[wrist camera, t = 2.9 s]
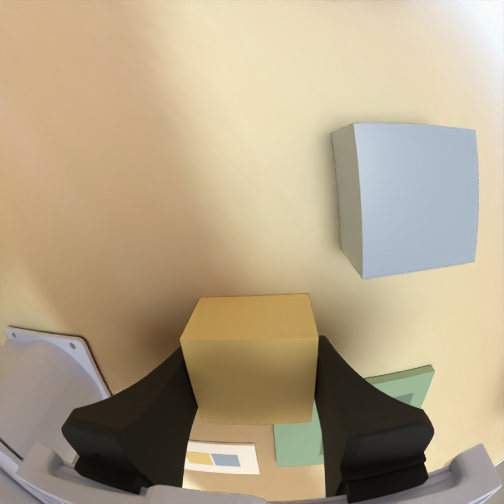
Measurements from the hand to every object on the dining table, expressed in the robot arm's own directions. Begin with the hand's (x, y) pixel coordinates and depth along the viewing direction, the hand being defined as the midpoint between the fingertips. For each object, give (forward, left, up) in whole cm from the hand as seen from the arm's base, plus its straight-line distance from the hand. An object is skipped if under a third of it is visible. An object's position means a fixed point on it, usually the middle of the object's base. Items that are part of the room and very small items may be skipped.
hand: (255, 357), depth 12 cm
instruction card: (-5, -12, -1) cm, 13 cm away
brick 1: (0, 0, -1) cm, 1 cm away
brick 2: (+6, +7, -2) cm, 10 cm away
